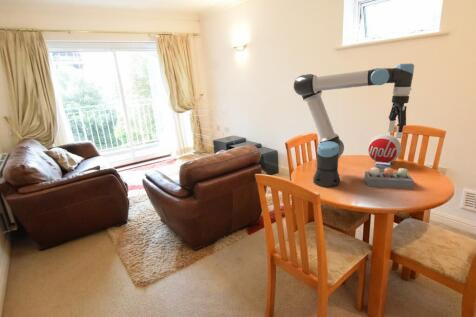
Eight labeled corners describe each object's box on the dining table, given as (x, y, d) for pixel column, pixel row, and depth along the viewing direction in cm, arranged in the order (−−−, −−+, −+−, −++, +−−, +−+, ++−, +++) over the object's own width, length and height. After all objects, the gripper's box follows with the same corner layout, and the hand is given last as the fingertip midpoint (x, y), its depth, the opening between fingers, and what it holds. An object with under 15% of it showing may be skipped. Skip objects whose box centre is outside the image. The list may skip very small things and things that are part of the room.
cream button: (370, 178, 150) (371, 169, 148) (369, 176, 154) (370, 167, 152) (379, 179, 149) (380, 170, 147) (377, 176, 153) (378, 167, 151)
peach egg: (384, 179, 148) (385, 170, 146) (382, 176, 152) (383, 167, 150) (393, 179, 147) (394, 170, 145) (391, 177, 151) (392, 167, 149)
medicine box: (374, 177, 160) (375, 163, 157) (374, 174, 164) (375, 161, 161) (389, 178, 156) (390, 164, 154) (388, 176, 160) (390, 162, 157)
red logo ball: (363, 164, 182) (365, 136, 176) (371, 156, 196) (373, 130, 190) (395, 169, 169) (399, 139, 163) (401, 161, 184) (405, 132, 178)
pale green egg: (398, 180, 146) (399, 170, 144) (396, 177, 150) (397, 168, 148) (407, 180, 145) (408, 171, 143) (405, 177, 149) (406, 168, 147)
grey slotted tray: (367, 186, 148) (368, 178, 147) (364, 178, 159) (365, 171, 157) (412, 188, 142) (414, 180, 140) (405, 180, 153) (407, 172, 151)
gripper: (418, 97, 124) (410, 141, 131) (400, 92, 147) (394, 130, 154) (401, 97, 126) (393, 140, 133) (386, 93, 149) (380, 129, 156)
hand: (394, 135), depth 143 cm, fingers open, 13 cm apart
